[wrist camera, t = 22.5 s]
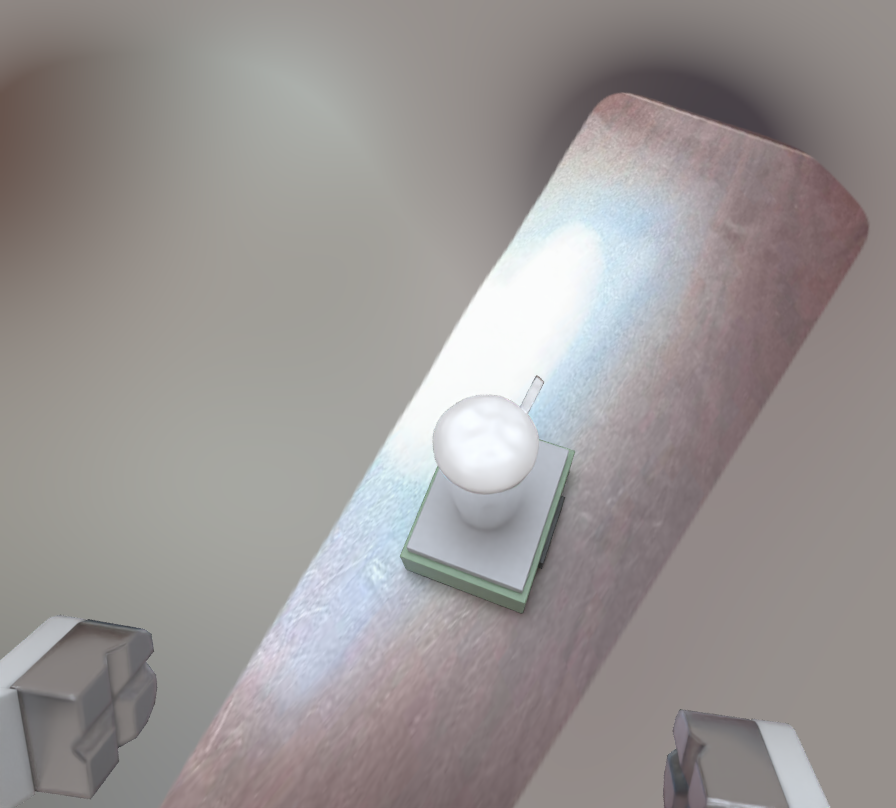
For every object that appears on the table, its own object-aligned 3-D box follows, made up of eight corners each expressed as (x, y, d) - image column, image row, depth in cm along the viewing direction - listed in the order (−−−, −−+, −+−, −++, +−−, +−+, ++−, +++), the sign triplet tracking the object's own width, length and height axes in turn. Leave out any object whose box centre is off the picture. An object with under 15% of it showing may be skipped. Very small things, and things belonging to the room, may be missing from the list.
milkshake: (558, 496, 36) (580, 415, 27) (482, 561, 35) (479, 498, 26) (501, 438, 38) (504, 343, 29) (427, 498, 36) (406, 418, 28)
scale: (573, 471, 41) (581, 446, 37) (526, 615, 37) (530, 602, 34) (461, 434, 42) (458, 406, 39) (405, 569, 39) (397, 552, 35)
